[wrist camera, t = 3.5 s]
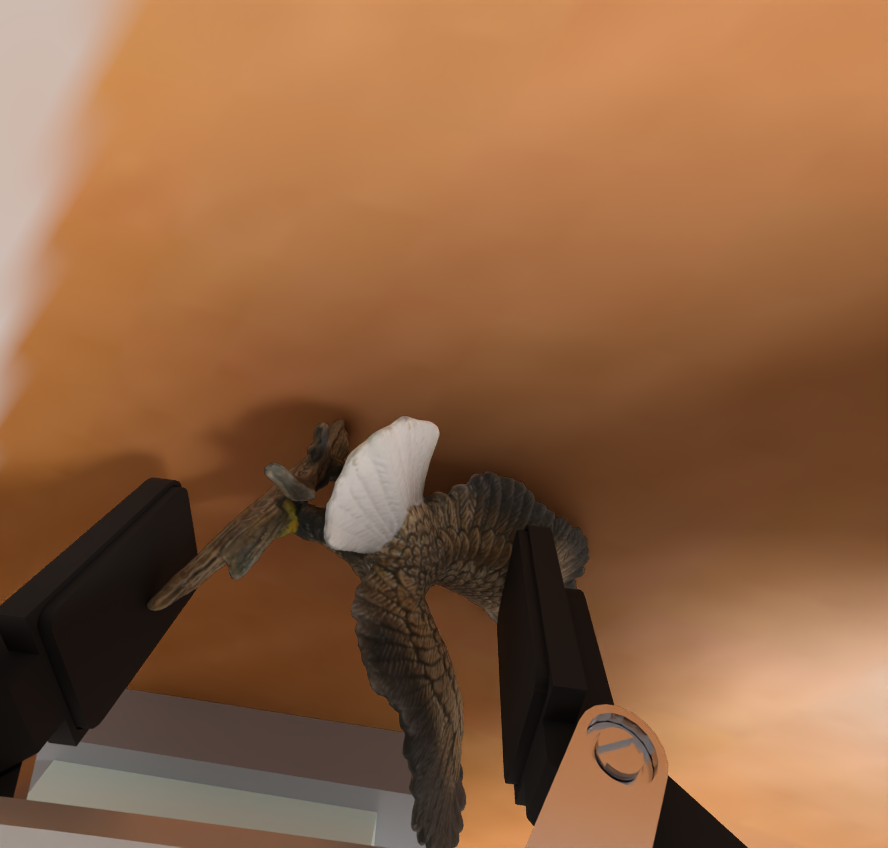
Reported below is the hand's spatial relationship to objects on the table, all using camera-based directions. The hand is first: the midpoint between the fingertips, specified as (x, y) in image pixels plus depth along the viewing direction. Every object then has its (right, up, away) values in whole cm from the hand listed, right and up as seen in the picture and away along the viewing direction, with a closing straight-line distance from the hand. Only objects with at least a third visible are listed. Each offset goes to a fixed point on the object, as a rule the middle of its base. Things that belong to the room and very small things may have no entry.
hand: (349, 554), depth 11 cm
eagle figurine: (+2, 0, +3) cm, 3 cm away
